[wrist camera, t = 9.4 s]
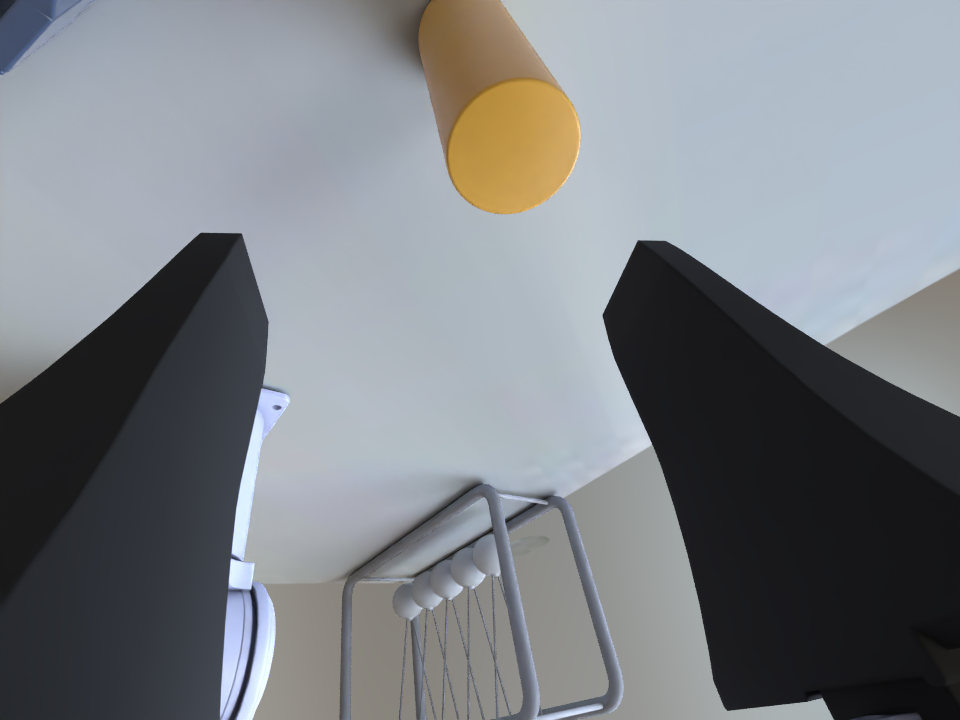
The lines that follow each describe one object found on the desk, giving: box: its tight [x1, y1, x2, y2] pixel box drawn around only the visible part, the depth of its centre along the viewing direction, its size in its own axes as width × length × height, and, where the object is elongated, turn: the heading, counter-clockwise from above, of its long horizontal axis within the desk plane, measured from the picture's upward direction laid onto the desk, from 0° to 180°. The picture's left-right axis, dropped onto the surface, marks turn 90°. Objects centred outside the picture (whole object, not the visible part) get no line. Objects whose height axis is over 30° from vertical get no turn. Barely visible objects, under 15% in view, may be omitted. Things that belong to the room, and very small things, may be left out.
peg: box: [418, 0, 581, 214], centre depth 12 cm, size 3×3×8 cm
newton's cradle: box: [340, 484, 624, 720], centre depth 46 cm, size 30×10×18 cm, turn 142°
